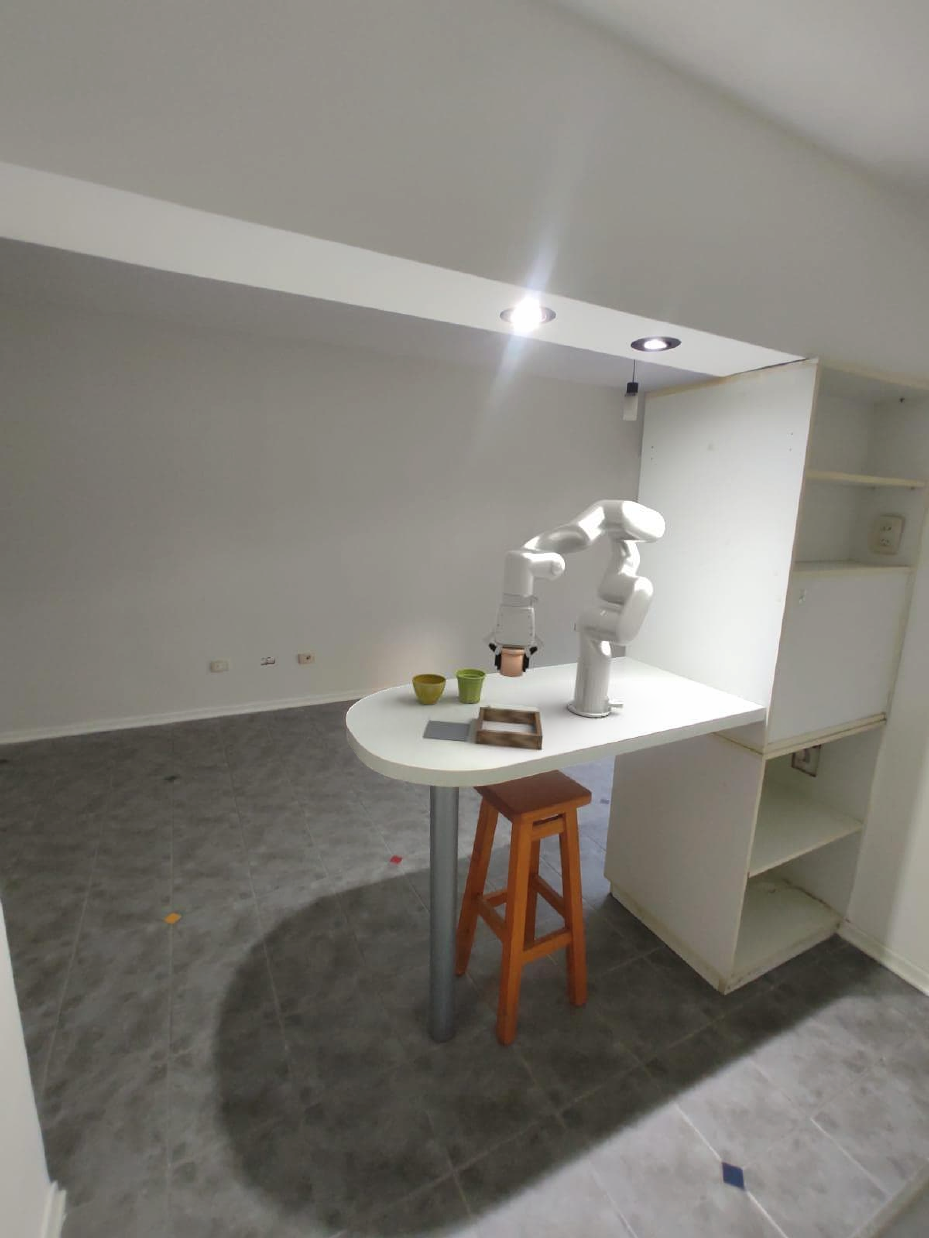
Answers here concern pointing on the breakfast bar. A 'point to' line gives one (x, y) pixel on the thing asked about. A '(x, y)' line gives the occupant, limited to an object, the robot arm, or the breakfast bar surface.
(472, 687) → the plant pot
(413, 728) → the breakfast bar surface
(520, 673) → the terracotta pot
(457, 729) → the slate mat
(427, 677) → the flower pot
